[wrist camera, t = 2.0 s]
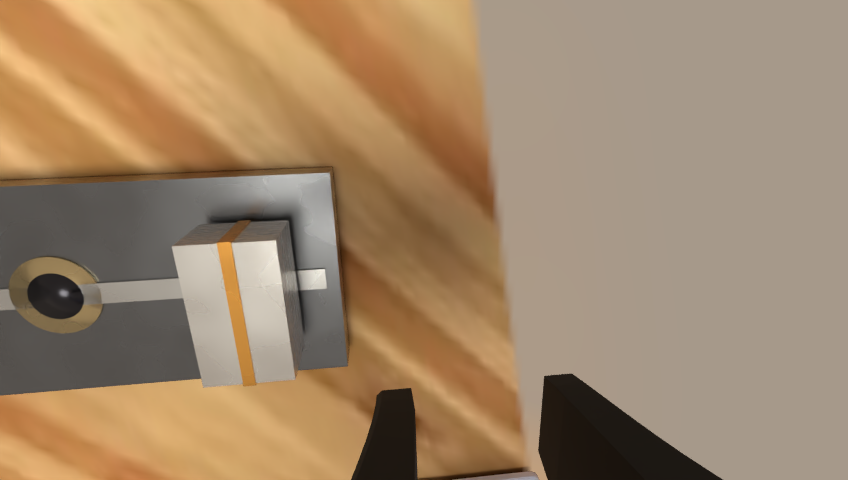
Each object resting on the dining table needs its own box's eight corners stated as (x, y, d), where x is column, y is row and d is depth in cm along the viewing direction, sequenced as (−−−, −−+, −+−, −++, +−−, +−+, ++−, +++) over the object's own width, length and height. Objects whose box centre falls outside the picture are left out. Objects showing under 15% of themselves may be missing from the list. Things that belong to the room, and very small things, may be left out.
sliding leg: (305, 344, 17) (295, 381, 15) (224, 350, 17) (203, 389, 15) (288, 218, 15) (275, 239, 13) (199, 222, 15) (170, 245, 13)
